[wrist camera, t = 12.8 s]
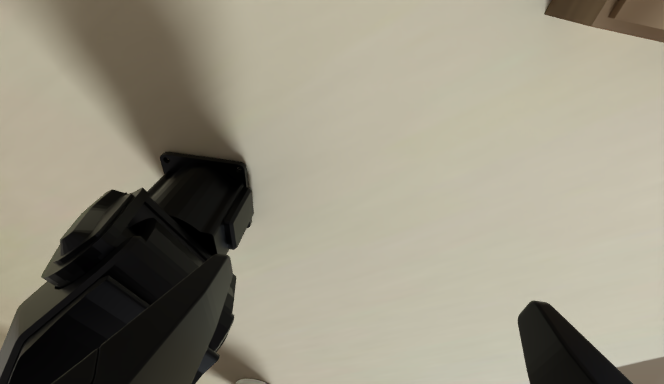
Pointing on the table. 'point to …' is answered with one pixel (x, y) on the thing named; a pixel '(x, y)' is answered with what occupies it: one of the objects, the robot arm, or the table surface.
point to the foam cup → (249, 381)
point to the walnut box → (614, 15)
